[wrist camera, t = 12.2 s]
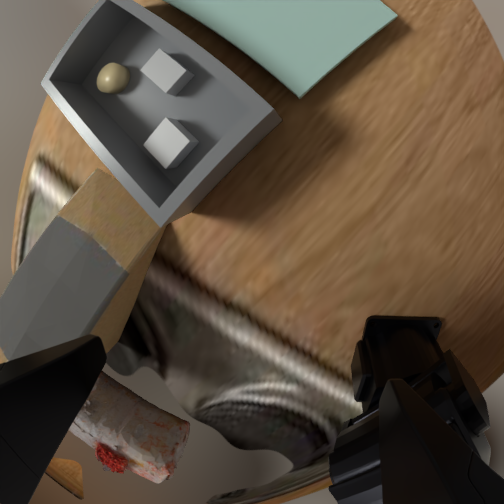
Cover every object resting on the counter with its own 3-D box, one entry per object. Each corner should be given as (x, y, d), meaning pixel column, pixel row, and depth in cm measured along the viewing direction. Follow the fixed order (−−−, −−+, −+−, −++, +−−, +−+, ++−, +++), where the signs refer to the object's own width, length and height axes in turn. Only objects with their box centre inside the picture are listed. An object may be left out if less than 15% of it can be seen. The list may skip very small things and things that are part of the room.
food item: (202, 422, 28) (171, 491, 19) (184, 446, 31) (156, 503, 22) (99, 360, 28) (50, 413, 19) (96, 393, 31) (56, 440, 22)
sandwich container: (175, 216, 21) (2, 311, 7) (121, 342, 26) (30, 441, 13) (97, 163, 21) (-67, 198, 7) (62, 294, 26) (-36, 365, 12)
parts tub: (282, 120, 17) (273, 108, 13) (190, 212, 20) (160, 227, 16) (140, 7, 16) (110, -13, 11) (77, 88, 19) (40, 83, 15)
